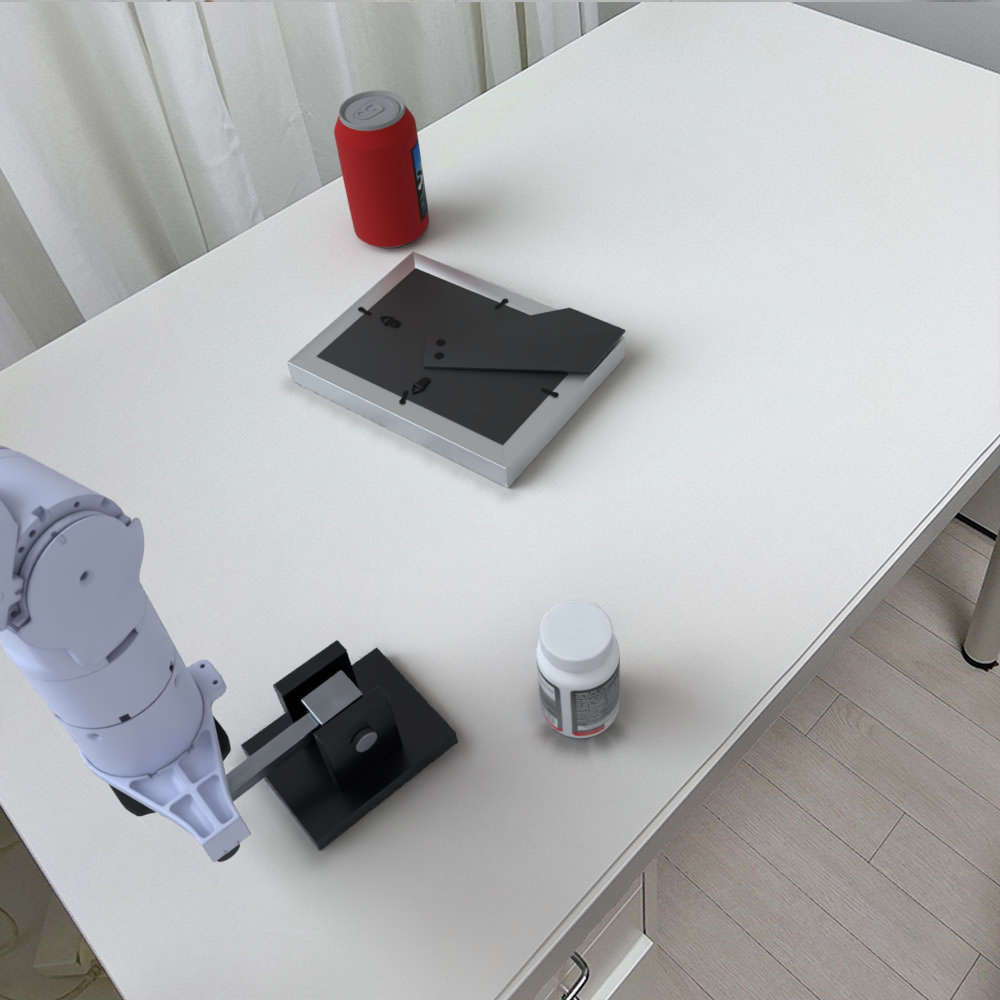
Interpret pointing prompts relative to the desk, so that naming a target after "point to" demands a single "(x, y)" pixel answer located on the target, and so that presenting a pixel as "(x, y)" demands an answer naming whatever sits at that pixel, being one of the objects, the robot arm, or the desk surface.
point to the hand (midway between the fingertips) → (197, 804)
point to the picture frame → (460, 365)
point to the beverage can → (382, 169)
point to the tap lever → (293, 736)
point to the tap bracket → (352, 743)
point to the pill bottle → (578, 669)
